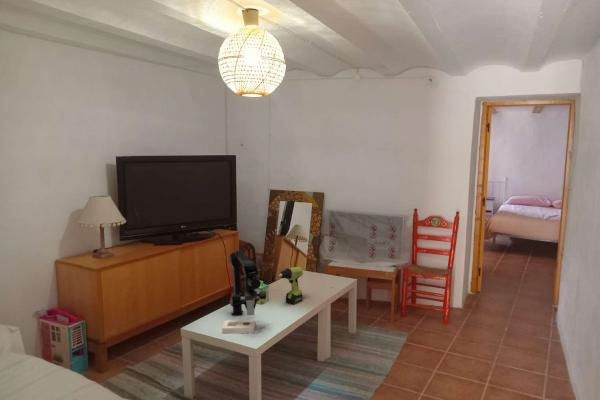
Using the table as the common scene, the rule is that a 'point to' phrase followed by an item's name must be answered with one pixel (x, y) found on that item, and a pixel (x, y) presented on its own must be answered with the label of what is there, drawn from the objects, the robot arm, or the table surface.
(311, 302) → the table surface
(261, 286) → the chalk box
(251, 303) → the square peg
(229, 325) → the socket plate
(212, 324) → the table surface
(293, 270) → the cordless drill
